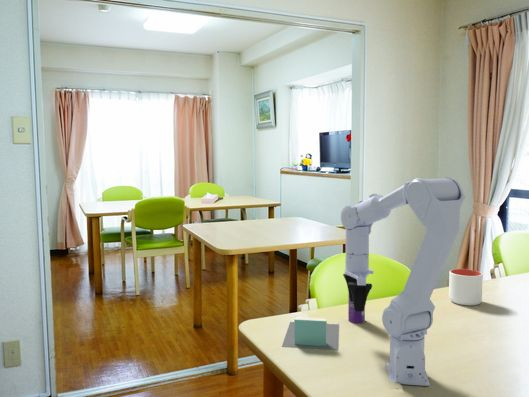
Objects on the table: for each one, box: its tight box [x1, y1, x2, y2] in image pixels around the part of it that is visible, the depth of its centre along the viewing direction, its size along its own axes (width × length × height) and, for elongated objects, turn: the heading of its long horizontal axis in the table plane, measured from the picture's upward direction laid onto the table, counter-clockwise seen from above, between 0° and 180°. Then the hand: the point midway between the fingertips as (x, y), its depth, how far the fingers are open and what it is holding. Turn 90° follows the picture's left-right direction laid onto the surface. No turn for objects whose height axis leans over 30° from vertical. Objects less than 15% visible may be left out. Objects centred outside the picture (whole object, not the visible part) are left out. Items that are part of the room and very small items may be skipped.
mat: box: [281, 321, 340, 351], centre depth 122 cm, size 18×14×1 cm
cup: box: [448, 268, 483, 307], centre depth 151 cm, size 10×10×10 cm
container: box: [347, 297, 366, 324], centre depth 132 cm, size 5×5×15 cm
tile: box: [293, 316, 328, 346], centre depth 116 cm, size 2×8×6 cm, turn 80°
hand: (356, 306), depth 115 cm, fingers open, 7 cm apart
